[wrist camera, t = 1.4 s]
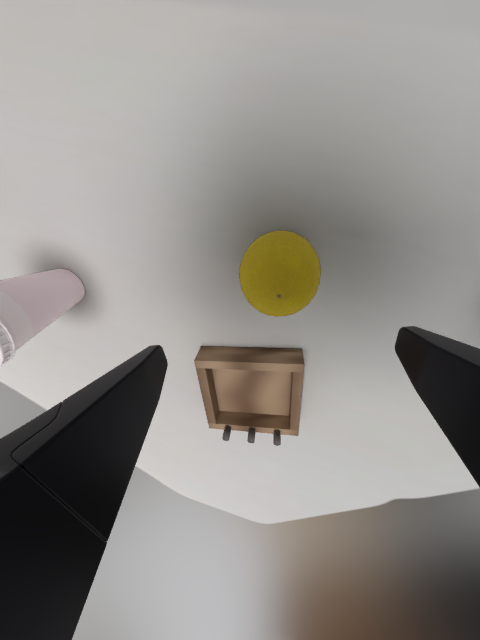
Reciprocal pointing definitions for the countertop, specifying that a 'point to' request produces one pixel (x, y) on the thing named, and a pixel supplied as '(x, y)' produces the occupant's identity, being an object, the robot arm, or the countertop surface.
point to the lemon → (280, 273)
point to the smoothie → (34, 306)
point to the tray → (251, 389)
